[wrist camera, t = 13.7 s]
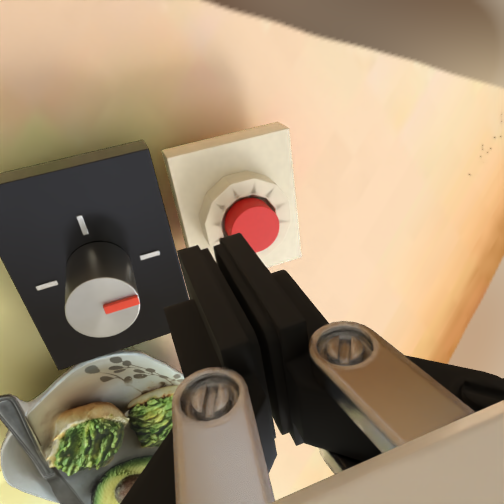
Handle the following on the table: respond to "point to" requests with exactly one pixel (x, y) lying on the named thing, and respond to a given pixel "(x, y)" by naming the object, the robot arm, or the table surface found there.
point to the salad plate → (89, 429)
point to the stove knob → (100, 290)
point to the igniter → (235, 186)
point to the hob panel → (88, 241)
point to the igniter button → (253, 222)
